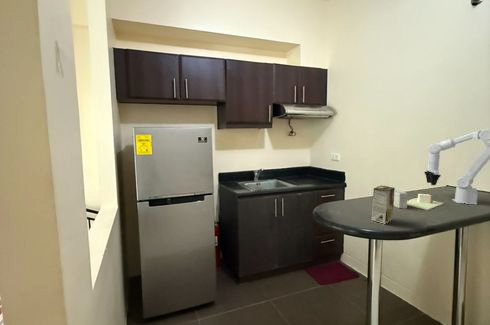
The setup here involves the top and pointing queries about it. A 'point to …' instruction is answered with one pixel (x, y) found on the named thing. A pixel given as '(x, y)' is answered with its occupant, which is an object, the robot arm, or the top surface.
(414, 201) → the sage mat
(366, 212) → the top surface
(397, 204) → the medicine box
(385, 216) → the coffee box
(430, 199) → the card deck
